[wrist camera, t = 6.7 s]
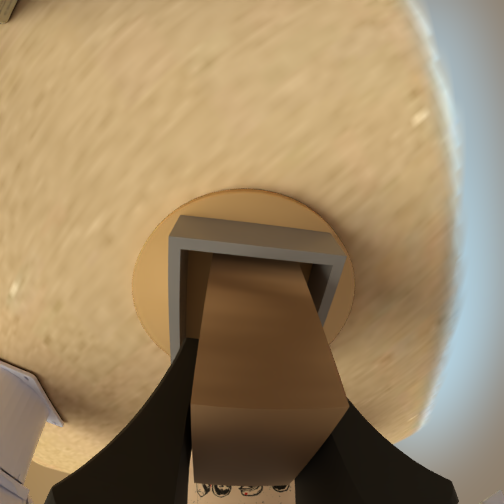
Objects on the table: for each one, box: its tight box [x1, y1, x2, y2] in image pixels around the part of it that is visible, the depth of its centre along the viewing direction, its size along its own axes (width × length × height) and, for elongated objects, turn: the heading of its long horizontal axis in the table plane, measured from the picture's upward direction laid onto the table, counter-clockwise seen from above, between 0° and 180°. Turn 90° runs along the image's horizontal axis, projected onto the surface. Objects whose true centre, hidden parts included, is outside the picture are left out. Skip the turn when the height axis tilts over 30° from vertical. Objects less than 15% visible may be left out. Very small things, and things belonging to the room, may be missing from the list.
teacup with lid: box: [187, 452, 295, 504], centre depth 14 cm, size 12×9×12 cm
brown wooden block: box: [191, 253, 350, 486], centre depth 9 cm, size 3×5×7 cm, turn 172°
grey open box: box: [132, 189, 355, 364], centre depth 12 cm, size 10×10×3 cm
